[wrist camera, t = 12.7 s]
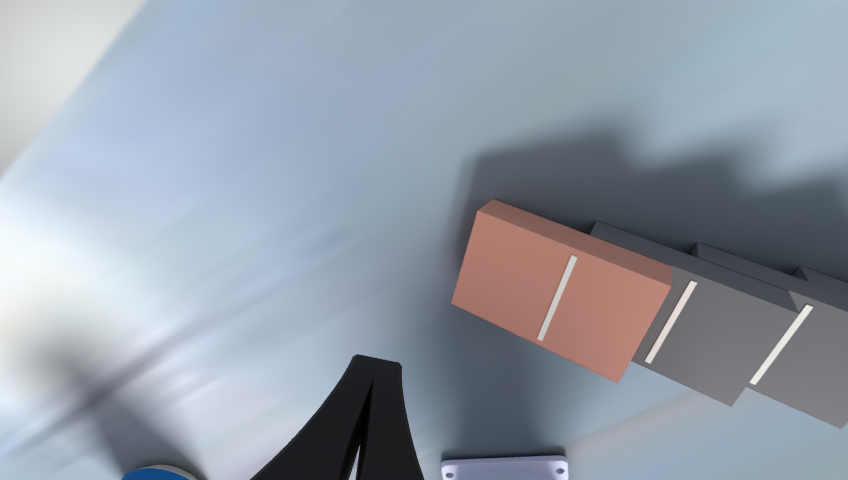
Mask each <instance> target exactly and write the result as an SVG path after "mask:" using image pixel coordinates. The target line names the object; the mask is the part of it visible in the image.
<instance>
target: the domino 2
mask: <svg viewBox="0 0 848 480" xmlns="http://www.w3.org/2000/svg"><path fill="white" fill-rule="evenodd" d="M690 255H691V256H694V257H696V258H699V259H702V260H705V261H707V262H710V263H713V264H715V265H718V266H721V267H724V268H726V269H729V270H732V271H734V272H737V273H740V274H743V275H745V276H748V277H751V278H753V279H756V280H759V281H762V282H764V283H767V284H770V285H772V286H775V287H778V288H781V289H783V290H786V291H789V293H790V295H791V297H792V299H793V301H794V303H795V305H796V307H797V309H798V312H799V316H798V317H797V318H796V320H795V321H794V322H793V324H792V325H791V326H790V328H789V329H788V331H787V332H786V333H785V335H784V336H783V337H782V339H781V340H780V341H779V343H778V344H777V345H776V347H775V348H774V350H773V351H772V352H771V354H770V355H769V356H768V358H767V359H766V360H765V362H764V363H763V364H762V366H761V367H760V369H759V370H758V371H757V373H756V374H755V375H754V377H753V378H752V379H751V381H750V382H749V384H748V385H747V386H746V387H748V388H750V389H752V390H754V391H757V392H759V393H761V394H763V395H766V396H768V397H770V398H772V399H775V400H777V401H779V402H781V403H784V404H786V405H788V406H790V407H793V408H795V409H797V410H799V411H802V412H804V413H806V414H808V415H811V416H813V417H815V418H817V419H820V420H822V421H824V422H826V423H829V424H831V425H833V426H835V427H838V428H840V429H842V428H843V426H844V425H845V424H846V423H847V422H848V296H847V295H844V294H841V293H838V292H835V291H833V290H830V289H827V288H824V287H821V286H819V285H816V284H813V283H810V282H807V281H805V280H802V279H799V278H796V277H793V276H791V275H788V274H785V273H782V272H780V271H777V270H774V269H771V268H768V267H766V266H763V265H760V264H757V263H754V262H752V261H749V260H746V259H743V258H740V257H738V256H735V255H732V254H729V253H727V252H724V251H721V250H718V249H715V248H713V247H710V246H707V245H704V244H701V243H699V242H697V243H696V245H695V247H694V249H693V250H692V252H691V254H690Z"/></svg>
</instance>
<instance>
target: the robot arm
mask: <svg viewBox="0 0 848 480" xmlns="http://www.w3.org/2000/svg"><path fill="white" fill-rule="evenodd" d="M359 446H360V450H359V458H358V466H357V473H356V480H424V477H423V474H422V471H421V468H420V465H419V462H418V459H417V455H416V452H415V448H414V445H413V441H412V437H411V433H410V428H409V424H408V419H407V414H406V409H405V403H404V396H403V388H402V366H401V365H400V363H398V362H393V361H388V360H383V359H378V358H373V357H368V356H363V355H358V354H357V355H355V356H353V358H352V360H351V362H350V364H349V366H348V368H347V369H346V371H345V373H344V374H343V376H342V378H341V379H340V381H339V382H338V383H337V385H336V386H335V388H334V389H333V391H332V392H331V393H330V395H329V396H328V397H327V399H326V400H325V401H324V403H323V404H322V405H321V407H320V408H319V409H318V410H317V412H316V413H315V414H314V415H313V416H312V417H311V419H310V420H309V421H308V422H307V423H306V424H305V426H304V427H303V428H302V429H301V430H300V431H299V432H298V434H297V435H296V436H295V437H294V438H293V439H292V440H291V441H290V442H289V443H288V444H287V445H286V446H285V447H284V448H283V449H282V450H281V451H280V452H279V453H278V454H277V455H276V456H275V457H274V458H273V459H272V460H271V461H270V462H269V463H268V464H267V465H266V466H264V467H263V468H262V469H261V470H260V471H259V472H258V473H257V474H256V475H255V476H253V477H252V478H251V479H250V480H349V477H350V474H351V471H352V468H353V465H354V462H355V459H356V455H357V452H358V449H359ZM441 473H442V478H443V480H569V478H568V462H567V458H565V457H564V456H560V455H555V456H532V457H508V458H485V459H461V460H445V461H443V462H442V463H441Z"/></svg>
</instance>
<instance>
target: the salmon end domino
mask: <svg viewBox="0 0 848 480" xmlns="http://www.w3.org/2000/svg"><path fill="white" fill-rule="evenodd" d="M671 287H672V266H670V265H667V264H664V263H662V262H659V261H656V260H654V259H651V258H648V257H646V256H643V255H641V254H638V253H635V252H633V251H630V250H627V249H625V248H622V247H619V246H617V245H614V244H611V243H609V242H606V241H604V240H601V239H598V238H596V237H593V236H590V235H588V234H585V233H582V232H580V231H577V230H574V229H572V228H569V227H567V226H564V225H561V224H559V223H556V222H553V221H551V220H548V219H545V218H543V217H540V216H538V215H535V214H532V213H530V212H527V211H524V210H522V209H519V208H516V207H514V206H511V205H508V204H506V203H503V202H501V201H498V200H495V199H492V200H491V201H489V202H488V203H487V204H485V205H484V206H483V207H481V208H480V209H479V210H478V211H477V214H476V218H475V221H474V225H473V228H472V232H471V235H470V239H469V242H468V246H467V249H466V253H465V256H464V260H463V263H462V267H461V270H460V274H459V277H458V281H457V284H456V288H455V291H454V294H453V298H452V301H451V304H453V305H455V306H457V307H459V308H462V309H464V310H466V311H468V312H470V313H472V314H474V315H476V316H478V317H480V318H483V319H485V320H487V321H489V322H491V323H493V324H495V325H497V326H499V327H501V328H503V329H506V330H508V331H510V332H512V333H514V334H516V335H518V336H520V337H522V338H524V339H526V340H529V341H531V342H533V343H535V344H537V345H539V346H541V347H543V348H545V349H547V350H550V351H552V352H554V353H556V354H558V355H560V356H562V357H564V358H566V359H568V360H570V361H573V362H575V363H577V364H579V365H581V366H583V367H585V368H587V369H589V370H591V371H594V372H596V373H598V374H600V375H602V376H604V377H606V378H608V379H610V380H612V381H614V382H617V383H619V381H620V379H621V377H622V375H623V374H624V372H625V370H626V368H627V366H628V365H629V363H630V361H631V359H632V357H633V356H634V354H635V352H636V350H637V348H638V347H639V345H640V343H641V341H642V339H643V337H644V336H645V334H646V332H647V330H648V328H649V327H650V325H651V323H652V321H653V319H654V318H655V316H656V314H657V312H658V310H659V309H660V307H661V305H662V303H663V301H664V299H665V298H666V296H667V294H668V292H669V290H670V289H671Z"/></svg>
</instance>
